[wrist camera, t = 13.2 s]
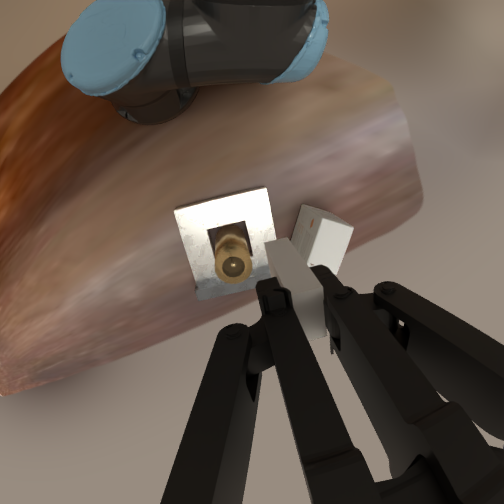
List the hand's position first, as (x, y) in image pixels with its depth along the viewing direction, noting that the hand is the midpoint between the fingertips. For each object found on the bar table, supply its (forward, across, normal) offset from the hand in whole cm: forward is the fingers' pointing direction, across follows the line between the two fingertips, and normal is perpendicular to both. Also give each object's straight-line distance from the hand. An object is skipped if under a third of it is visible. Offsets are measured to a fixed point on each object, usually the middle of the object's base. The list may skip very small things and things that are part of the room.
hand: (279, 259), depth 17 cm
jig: (+29, -4, -8) cm, 31 cm away
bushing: (+29, -4, -8) cm, 31 cm away
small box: (+30, +10, -9) cm, 33 cm away
